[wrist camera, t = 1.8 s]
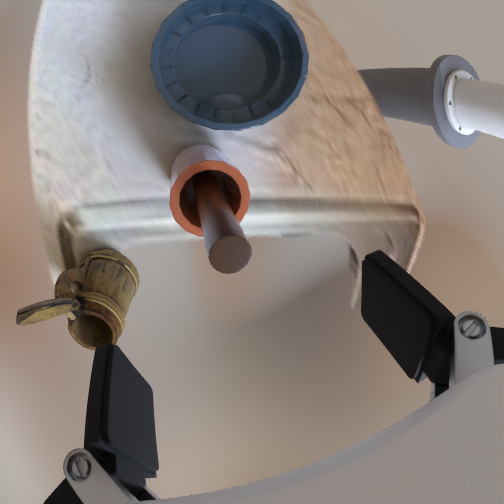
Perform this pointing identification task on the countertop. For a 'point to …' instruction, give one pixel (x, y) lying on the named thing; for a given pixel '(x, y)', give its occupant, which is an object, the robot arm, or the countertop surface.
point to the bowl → (229, 62)
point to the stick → (220, 226)
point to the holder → (225, 175)
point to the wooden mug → (90, 298)
